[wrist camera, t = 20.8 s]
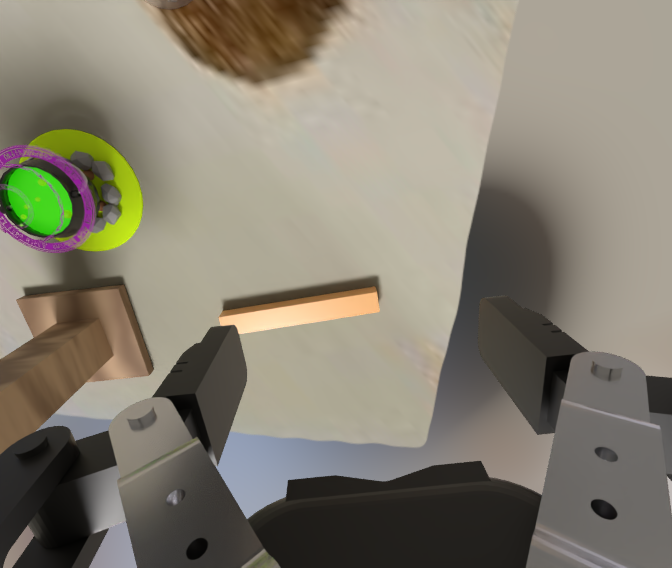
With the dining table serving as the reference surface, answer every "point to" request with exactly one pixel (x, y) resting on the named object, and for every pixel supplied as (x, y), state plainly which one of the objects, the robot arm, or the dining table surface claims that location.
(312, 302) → the handle bar
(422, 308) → the dining table surface
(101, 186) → the toy cauldron
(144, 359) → the shelf stand
